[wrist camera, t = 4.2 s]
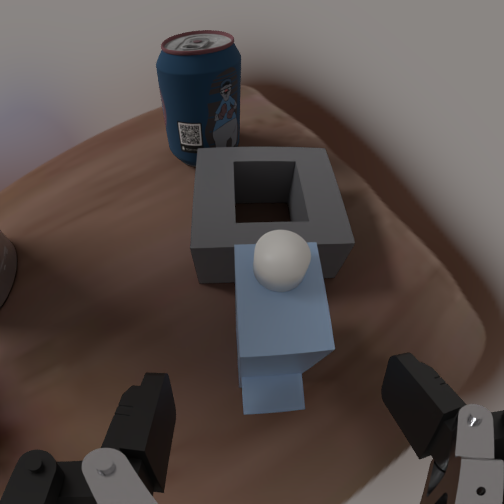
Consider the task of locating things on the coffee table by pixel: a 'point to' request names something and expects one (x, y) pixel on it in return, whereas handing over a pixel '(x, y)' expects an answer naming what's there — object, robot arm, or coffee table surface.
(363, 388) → the coffee table surface
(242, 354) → the block
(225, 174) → the grey block with hole
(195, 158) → the soda can
